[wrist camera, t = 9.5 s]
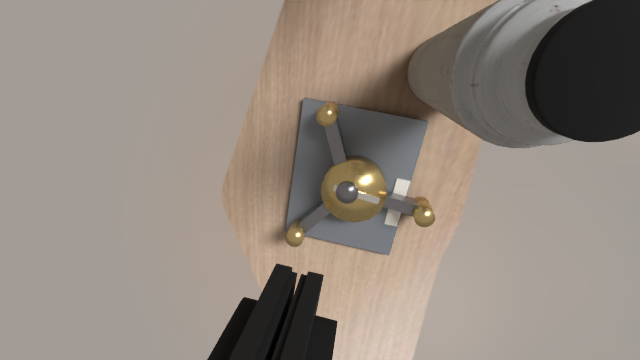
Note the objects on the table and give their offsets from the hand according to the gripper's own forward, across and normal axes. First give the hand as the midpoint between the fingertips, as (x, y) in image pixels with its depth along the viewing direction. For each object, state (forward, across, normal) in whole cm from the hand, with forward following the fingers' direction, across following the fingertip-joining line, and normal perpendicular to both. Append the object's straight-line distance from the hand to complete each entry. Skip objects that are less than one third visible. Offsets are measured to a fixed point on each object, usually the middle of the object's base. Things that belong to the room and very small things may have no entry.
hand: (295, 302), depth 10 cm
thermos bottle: (+32, -9, -9) cm, 35 cm away
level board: (+32, -1, +7) cm, 33 cm away
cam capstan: (+31, -3, +7) cm, 32 cm away
